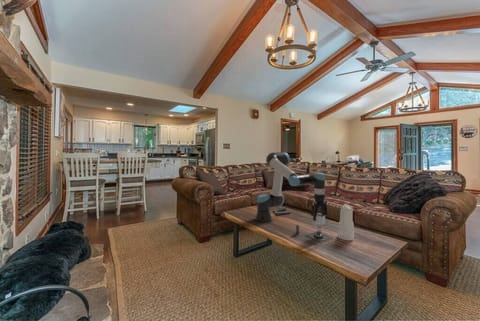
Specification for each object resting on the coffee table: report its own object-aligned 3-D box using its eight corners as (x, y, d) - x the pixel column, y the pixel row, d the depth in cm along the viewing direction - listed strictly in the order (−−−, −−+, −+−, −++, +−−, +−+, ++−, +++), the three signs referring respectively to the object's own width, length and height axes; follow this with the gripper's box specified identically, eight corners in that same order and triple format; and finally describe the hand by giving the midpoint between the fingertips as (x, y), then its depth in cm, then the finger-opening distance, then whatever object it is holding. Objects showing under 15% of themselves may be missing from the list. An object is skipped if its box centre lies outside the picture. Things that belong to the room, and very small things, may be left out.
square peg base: (305, 236, 165) (305, 225, 165) (317, 232, 172) (317, 221, 172) (320, 243, 153) (320, 231, 153) (333, 239, 160) (333, 227, 160)
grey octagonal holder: (311, 222, 164) (311, 214, 163) (318, 220, 168) (318, 212, 167) (319, 225, 157) (320, 217, 156) (327, 223, 161) (327, 215, 161)
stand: (291, 234, 169) (292, 224, 169) (297, 233, 172) (297, 223, 172) (297, 237, 164) (297, 227, 164) (303, 235, 167) (303, 225, 167)
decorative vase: (353, 241, 156) (354, 207, 155) (337, 238, 162) (337, 205, 160) (354, 236, 165) (355, 204, 164) (339, 233, 171) (339, 202, 169)
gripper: (313, 196, 153) (313, 228, 154) (332, 193, 163) (332, 222, 164) (305, 194, 159) (305, 225, 160) (324, 191, 170) (324, 220, 171)
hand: (319, 223), depth 162 cm, fingers closed on grey octagonal holder, 8 cm apart
